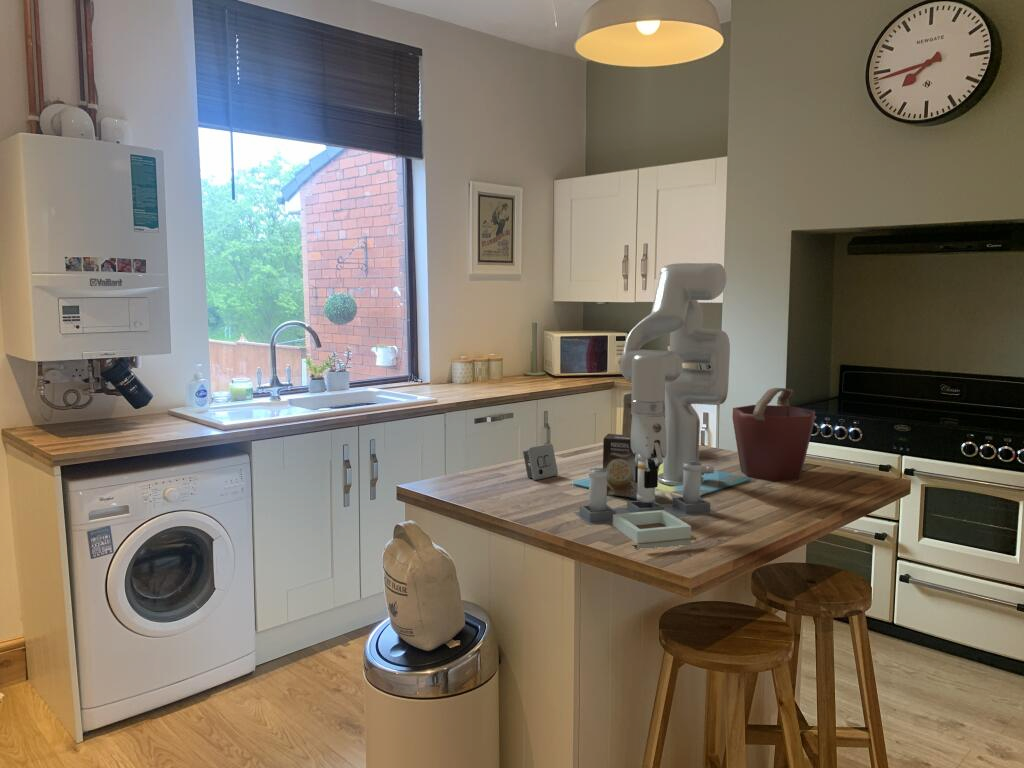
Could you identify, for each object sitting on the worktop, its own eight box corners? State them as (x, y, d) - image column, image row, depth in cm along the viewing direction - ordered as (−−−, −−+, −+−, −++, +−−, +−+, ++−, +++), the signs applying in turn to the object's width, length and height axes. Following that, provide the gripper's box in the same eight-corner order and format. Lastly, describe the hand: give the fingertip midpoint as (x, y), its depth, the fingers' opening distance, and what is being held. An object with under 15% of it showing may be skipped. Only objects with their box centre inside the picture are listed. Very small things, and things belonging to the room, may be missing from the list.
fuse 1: (602, 513, 181) (603, 467, 179) (609, 518, 177) (610, 471, 175) (585, 515, 180) (586, 468, 178) (592, 520, 176) (593, 472, 174)
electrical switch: (534, 481, 217) (532, 448, 216) (522, 479, 220) (520, 447, 220) (558, 476, 223) (556, 443, 222) (546, 474, 227) (544, 442, 226)
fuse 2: (694, 505, 188) (695, 460, 186) (703, 510, 184) (705, 464, 182) (678, 506, 186) (680, 462, 185) (687, 511, 182) (689, 465, 181)
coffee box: (600, 499, 198) (601, 437, 196) (606, 493, 204) (607, 433, 202) (636, 503, 195) (637, 440, 193) (640, 496, 201) (642, 435, 199)
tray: (663, 527, 176) (663, 509, 175) (690, 544, 164) (691, 526, 163) (612, 531, 172) (613, 514, 172) (637, 550, 160) (637, 531, 160)
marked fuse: (649, 496, 184) (650, 451, 183) (658, 501, 180) (659, 455, 179) (633, 498, 183) (634, 452, 181) (641, 503, 179) (642, 456, 177)
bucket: (766, 461, 241) (769, 381, 238) (832, 475, 223) (837, 389, 220) (715, 473, 226) (718, 388, 223) (782, 488, 209) (786, 396, 205)
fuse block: (695, 507, 191) (695, 493, 191) (716, 519, 181) (717, 504, 181) (573, 518, 182) (573, 503, 182) (589, 531, 173) (589, 516, 172)
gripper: (680, 412, 172) (678, 493, 174) (646, 401, 187) (644, 475, 190) (649, 414, 169) (647, 496, 172) (617, 402, 185) (616, 477, 188)
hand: (646, 484), depth 181 cm, fingers closed on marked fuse, 4 cm apart
